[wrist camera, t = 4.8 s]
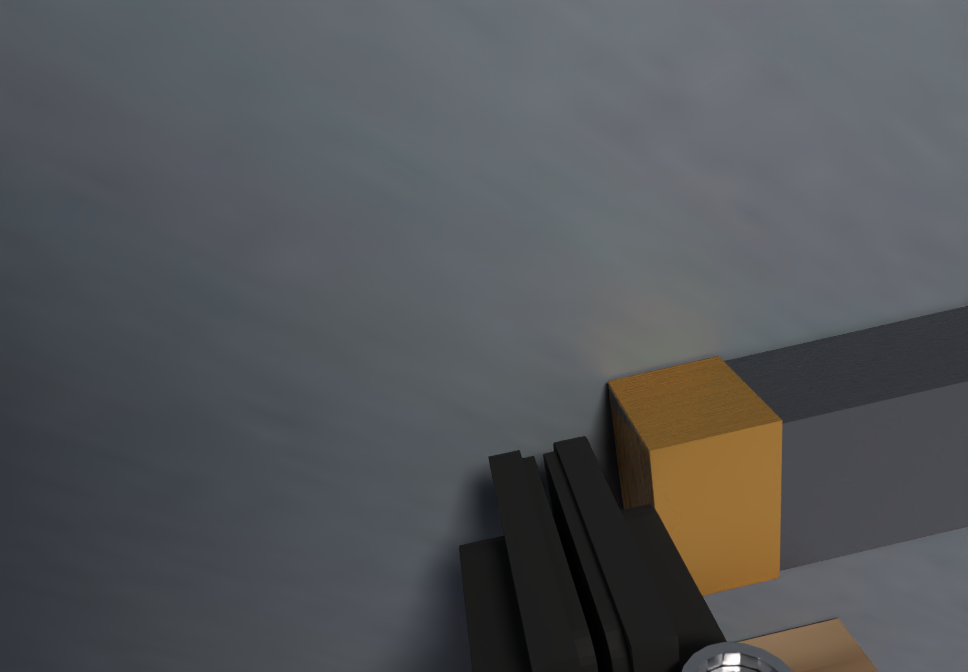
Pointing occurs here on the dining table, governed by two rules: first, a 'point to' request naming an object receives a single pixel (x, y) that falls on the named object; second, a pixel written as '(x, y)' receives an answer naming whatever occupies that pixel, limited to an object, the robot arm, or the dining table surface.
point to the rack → (816, 648)
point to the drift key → (801, 448)
